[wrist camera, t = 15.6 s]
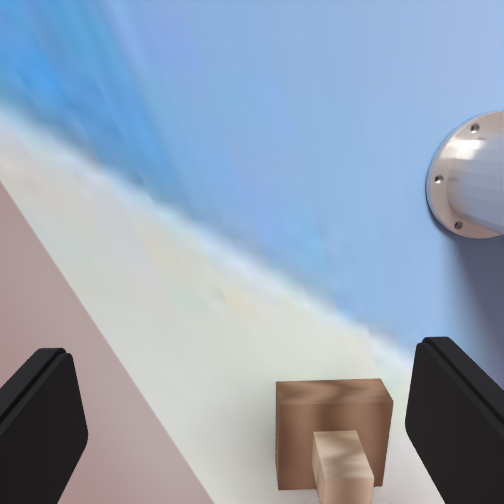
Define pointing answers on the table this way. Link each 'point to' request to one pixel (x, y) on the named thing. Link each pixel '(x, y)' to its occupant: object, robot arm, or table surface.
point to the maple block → (341, 468)
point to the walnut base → (329, 424)
